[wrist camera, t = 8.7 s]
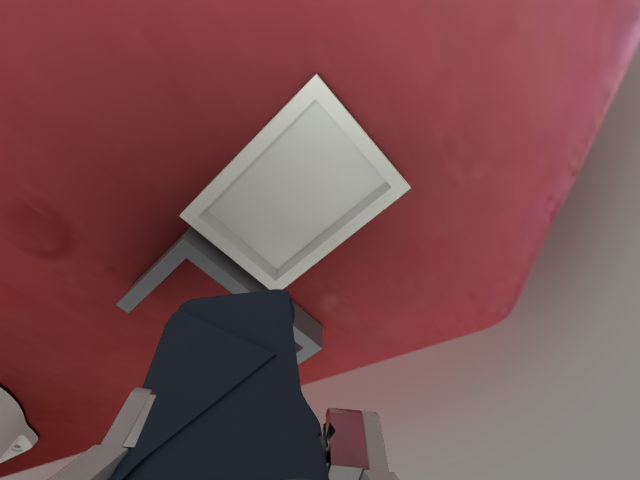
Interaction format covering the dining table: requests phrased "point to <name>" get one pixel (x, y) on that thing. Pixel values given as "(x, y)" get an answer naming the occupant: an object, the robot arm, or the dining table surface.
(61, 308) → the dining table surface
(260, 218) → the tray
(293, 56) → the dining table surface
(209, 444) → the vaping device
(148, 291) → the bay
